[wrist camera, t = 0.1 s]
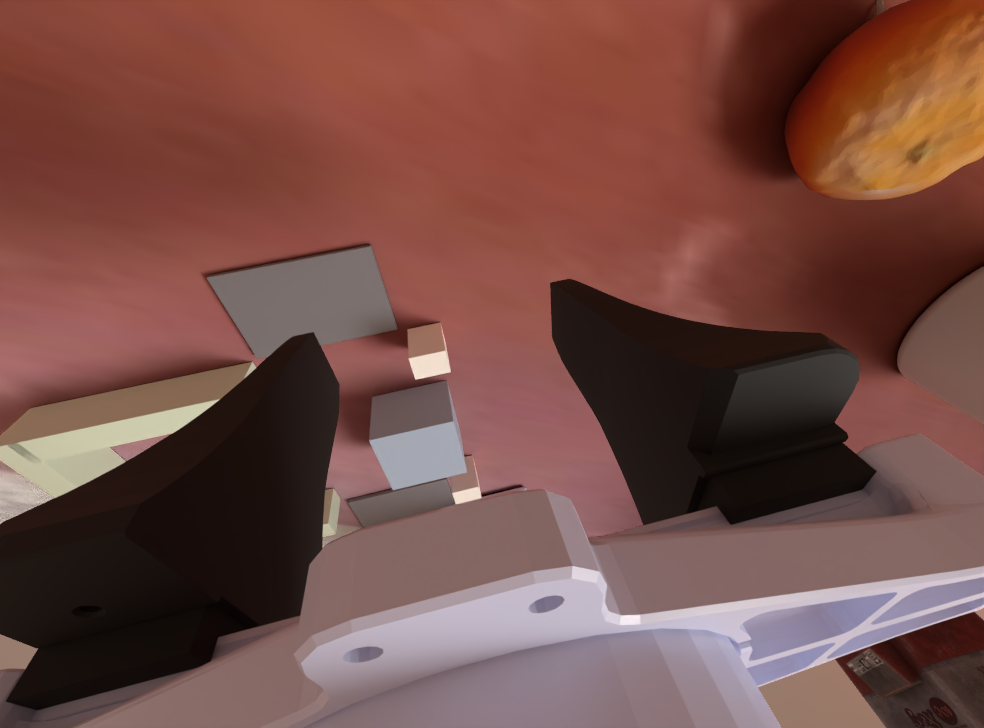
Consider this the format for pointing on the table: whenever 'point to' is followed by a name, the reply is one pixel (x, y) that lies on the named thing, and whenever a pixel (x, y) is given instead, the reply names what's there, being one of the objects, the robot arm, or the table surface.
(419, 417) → the block
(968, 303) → the cylinder vase
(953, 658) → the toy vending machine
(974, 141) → the fruit
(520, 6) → the table surface
